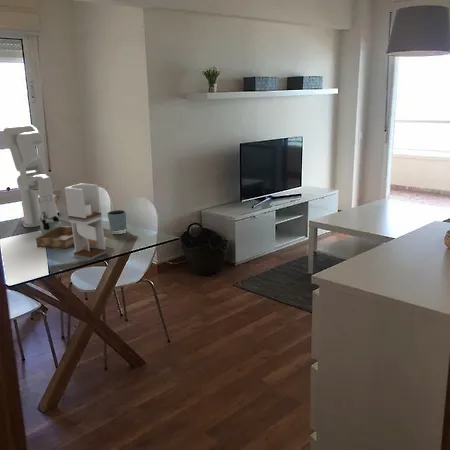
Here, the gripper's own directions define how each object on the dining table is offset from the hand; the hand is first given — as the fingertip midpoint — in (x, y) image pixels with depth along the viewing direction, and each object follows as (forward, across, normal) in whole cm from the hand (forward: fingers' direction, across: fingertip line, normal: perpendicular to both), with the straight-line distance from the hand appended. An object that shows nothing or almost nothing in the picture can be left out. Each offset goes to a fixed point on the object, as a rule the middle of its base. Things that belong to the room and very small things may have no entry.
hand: (51, 227), depth 294 cm
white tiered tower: (+5, +30, +41) cm, 51 cm away
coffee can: (+2, -54, -48) cm, 72 cm away
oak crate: (+4, +12, +15) cm, 20 cm away
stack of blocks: (+2, -37, -33) cm, 50 cm away
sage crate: (+4, 0, -1) cm, 4 cm away
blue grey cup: (+5, -6, +39) cm, 40 cm away
